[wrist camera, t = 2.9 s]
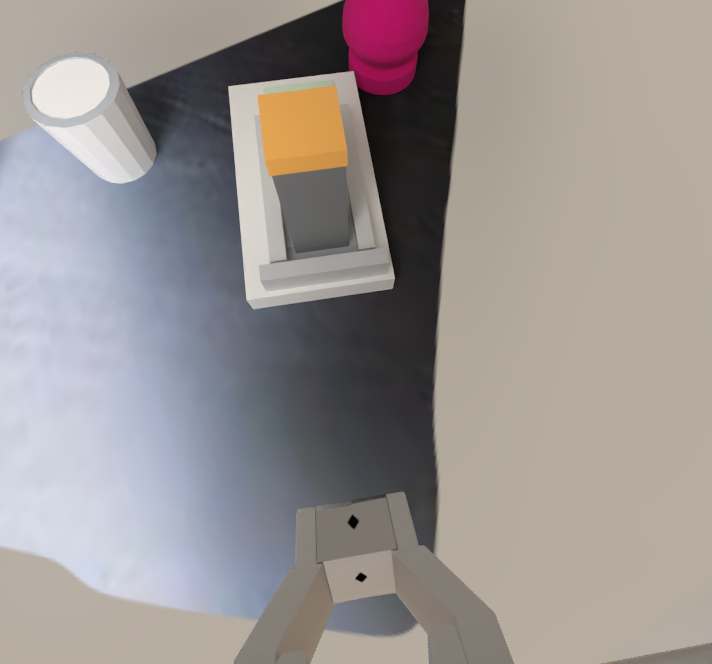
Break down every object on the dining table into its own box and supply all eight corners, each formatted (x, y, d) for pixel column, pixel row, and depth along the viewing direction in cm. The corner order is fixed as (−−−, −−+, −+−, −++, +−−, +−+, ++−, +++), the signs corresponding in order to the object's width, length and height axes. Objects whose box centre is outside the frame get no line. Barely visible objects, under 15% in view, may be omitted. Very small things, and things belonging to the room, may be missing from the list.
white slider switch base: (253, 309, 31) (238, 289, 27) (235, 105, 37) (220, 65, 33) (392, 288, 32) (397, 266, 28) (353, 90, 37) (353, 49, 33)
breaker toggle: (294, 255, 30) (264, 160, 20) (288, 206, 31) (257, 95, 21) (350, 247, 30) (347, 150, 20) (342, 199, 31) (335, 85, 22)
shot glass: (75, 141, 36) (10, 70, 29) (149, 113, 37) (102, 38, 30) (97, 201, 34) (33, 140, 27) (174, 170, 35) (131, 104, 28)
